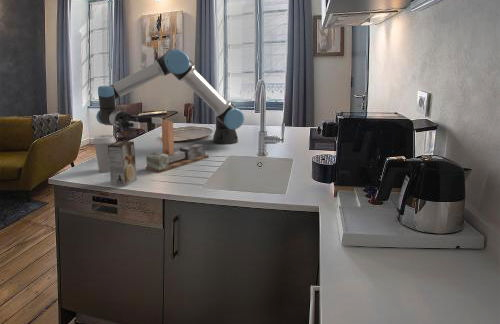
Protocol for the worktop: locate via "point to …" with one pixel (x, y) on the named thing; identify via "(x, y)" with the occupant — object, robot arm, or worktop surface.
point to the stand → (161, 161)
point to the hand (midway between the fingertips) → (150, 123)
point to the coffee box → (122, 163)
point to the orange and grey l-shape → (170, 142)
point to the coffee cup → (103, 151)
